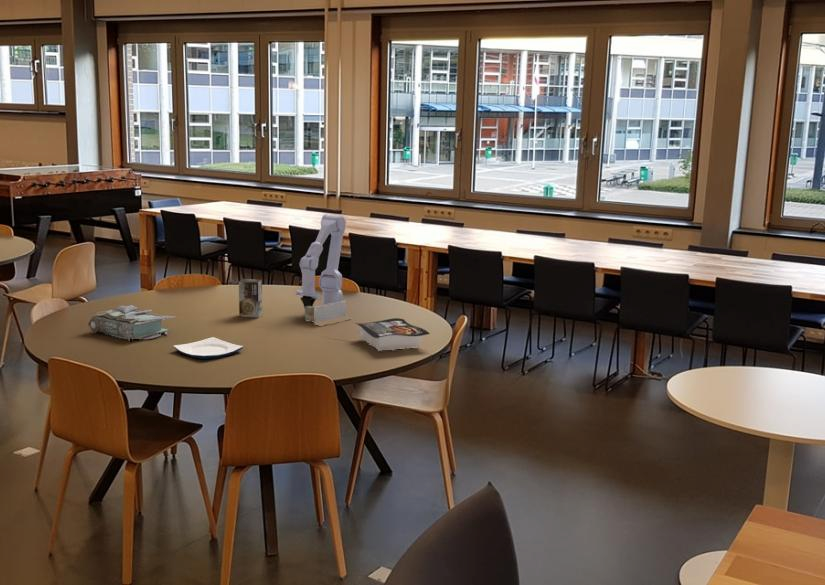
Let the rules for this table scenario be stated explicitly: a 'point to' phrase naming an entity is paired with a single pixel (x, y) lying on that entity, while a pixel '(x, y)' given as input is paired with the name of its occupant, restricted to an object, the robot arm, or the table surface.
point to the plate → (208, 348)
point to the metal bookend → (329, 311)
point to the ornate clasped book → (128, 323)
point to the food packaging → (391, 334)
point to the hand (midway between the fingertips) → (308, 312)
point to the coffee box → (250, 298)
